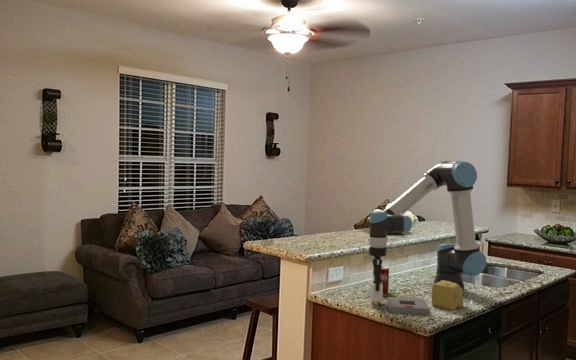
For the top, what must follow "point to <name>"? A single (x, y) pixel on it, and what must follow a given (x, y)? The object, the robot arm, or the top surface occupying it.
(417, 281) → the top surface
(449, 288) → the cheese
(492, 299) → the top surface
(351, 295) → the top surface
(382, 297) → the plug
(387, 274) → the soda can
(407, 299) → the socket
